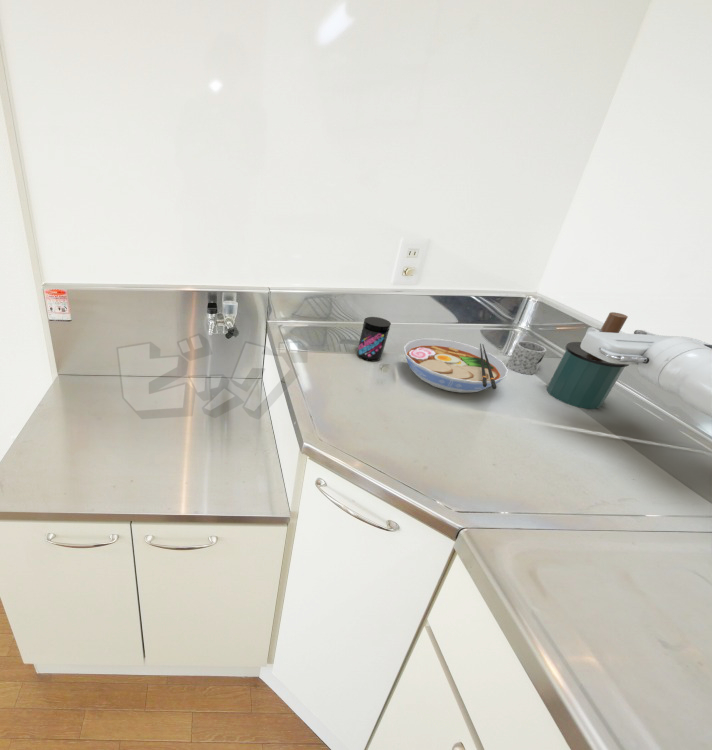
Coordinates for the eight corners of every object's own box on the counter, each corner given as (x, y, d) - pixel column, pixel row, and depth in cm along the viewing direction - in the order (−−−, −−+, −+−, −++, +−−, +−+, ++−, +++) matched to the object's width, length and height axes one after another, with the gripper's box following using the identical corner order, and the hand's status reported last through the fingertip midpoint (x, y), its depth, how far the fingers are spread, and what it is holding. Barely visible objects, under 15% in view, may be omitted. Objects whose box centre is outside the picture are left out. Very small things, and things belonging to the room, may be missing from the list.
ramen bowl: (401, 353, 120) (409, 327, 115) (493, 374, 111) (505, 346, 107) (389, 394, 100) (398, 363, 96) (500, 423, 91) (515, 391, 87)
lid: (611, 351, 98) (635, 309, 93) (639, 373, 88) (667, 328, 83) (555, 343, 101) (575, 302, 96) (577, 364, 91) (600, 320, 86)
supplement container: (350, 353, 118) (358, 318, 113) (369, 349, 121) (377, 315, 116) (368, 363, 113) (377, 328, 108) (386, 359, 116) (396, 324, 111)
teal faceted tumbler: (585, 394, 104) (611, 349, 97) (606, 418, 95) (636, 369, 89) (537, 387, 106) (560, 342, 100) (553, 408, 97) (579, 361, 91)
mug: (539, 376, 111) (550, 353, 108) (511, 371, 113) (521, 349, 109) (527, 359, 119) (537, 338, 116) (501, 355, 121) (510, 334, 118)
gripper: (605, 374, 78) (555, 342, 90) (719, 381, 77) (654, 348, 89) (623, 343, 74) (569, 314, 86) (742, 350, 74) (672, 320, 86)
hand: (613, 331), depth 88 cm, fingers open, 8 cm apart
